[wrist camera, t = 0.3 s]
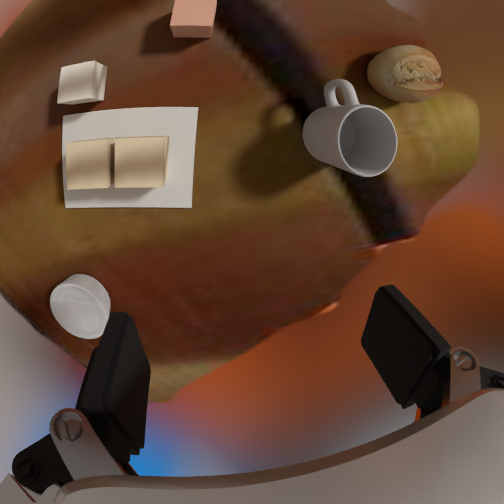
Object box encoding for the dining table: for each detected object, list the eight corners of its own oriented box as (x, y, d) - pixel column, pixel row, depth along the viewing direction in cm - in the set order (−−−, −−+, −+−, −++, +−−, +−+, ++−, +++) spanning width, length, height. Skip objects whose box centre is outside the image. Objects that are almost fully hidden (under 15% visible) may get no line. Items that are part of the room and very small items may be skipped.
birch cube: (77, 72, 25) (61, 67, 21) (107, 67, 26) (94, 60, 22) (73, 104, 27) (57, 103, 23) (103, 100, 28) (89, 97, 24)
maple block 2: (126, 136, 31) (115, 138, 27) (169, 136, 32) (163, 137, 28) (125, 179, 34) (114, 187, 29) (167, 179, 35) (161, 187, 30)
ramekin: (87, 256, 38) (75, 273, 33) (127, 306, 43) (121, 326, 38) (50, 284, 38) (38, 301, 34) (88, 327, 44) (80, 346, 39)
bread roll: (432, 91, 34) (463, 92, 27) (376, 112, 35) (408, 114, 28) (413, 43, 29) (443, 38, 22) (352, 57, 30) (381, 48, 23)
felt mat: (64, 115, 28) (63, 115, 27) (198, 107, 31) (198, 107, 31) (66, 207, 34) (65, 208, 33) (191, 207, 37) (191, 208, 37)
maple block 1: (82, 140, 30) (66, 143, 25) (119, 137, 31) (107, 139, 26) (82, 181, 32) (67, 189, 28) (119, 179, 33) (107, 187, 29)
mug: (358, 156, 38) (402, 169, 28) (309, 169, 38) (344, 186, 28) (341, 81, 32) (384, 72, 22) (288, 90, 32) (319, 78, 22)
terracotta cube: (179, 9, 24) (176, -6, 20) (215, 9, 25) (217, -5, 21) (174, 37, 26) (169, 25, 22) (211, 38, 27) (212, 26, 23)
